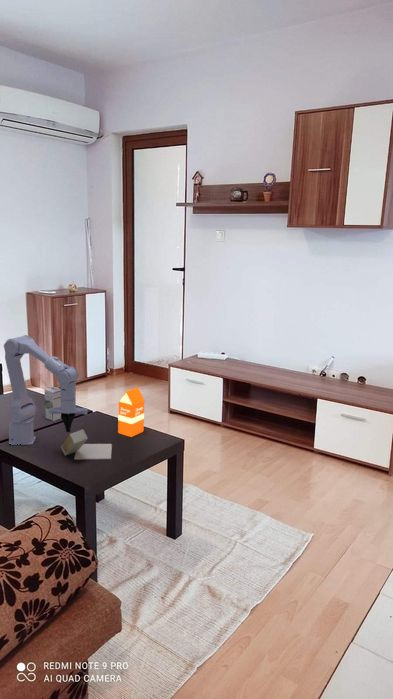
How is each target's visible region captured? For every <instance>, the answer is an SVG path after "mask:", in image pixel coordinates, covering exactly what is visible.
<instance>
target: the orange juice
mask: <svg viewBox="0 0 393 699" xmlns="http://www.w3.org/2000/svg"><path fill="white" fill-rule="evenodd" d="M117 420H118V424H117V428H118V429H117V433H118V434H121V435H124V436H126V437H131V438H132V437H134V436H136V435H139V434H140V433H143V432H144V428H145V427H144V426H145V425H144V422H145V399H144V397H143V395H142V393H141V390H140V389H139V387H134V388H131V389H128V390H126V391H125V392H124V394H123V395H122V397H121V398H120V400H119V401H118V416H117Z"/></svg>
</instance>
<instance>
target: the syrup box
mask: <svg viewBox="0 0 393 699" xmlns="http://www.w3.org/2000/svg"><path fill="white" fill-rule="evenodd" d="M59 407H61V388H59V387H55V386H51V387H47V388H45V389H44V418H45V419H46V420H49V421H51V422H55V421H58V420H60V419H61V414H49V408H59ZM61 420H62V419H61Z"/></svg>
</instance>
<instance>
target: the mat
mask: <svg viewBox="0 0 393 699" xmlns="http://www.w3.org/2000/svg"><path fill="white" fill-rule="evenodd" d="M112 447H113V444H112V443H84V444H83V445H82V446H81V448H80V449H79V450H78V451H76V452H74V453H75V455H74V457H73V459H74V460H112V451H113V450H112Z"/></svg>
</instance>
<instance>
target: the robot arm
mask: <svg viewBox="0 0 393 699" xmlns="http://www.w3.org/2000/svg"><path fill="white" fill-rule="evenodd" d="M3 348H4V353H5V354H4V361H5V364H6V369H7V373H8V378H9V384H10V387H11V391H12V395H13V401H12V403H11V404H10V414H9V415H10V419H11V420H10V421H9V424H8V445H9V444H11V445H10V446H21V445H22V446H24V445H25V446H26V445H27V446H31V445H34V442H35V441H36V438H37V437H36V435H34V420H35V416H36V415H37V414H38V409H37V406H36V404H35V402H34V400H33V398H31V397H29V394H28V390H27V386H26V381H25V377H24V372H23V368H22V363H21V359H22V358H23V356H24V355H25V354H29V355H31V356H32V357H34V358H36V359H37V360H38V361H40V362H41V363H43V364H44V368H45V369H46V370H47V371H49V372H50V373H51V374H52V375H54V376H55V377H56V379H57V382H58V383H59V387H60V388H59V389H61V407H59V408H49V414H61V420H62V422H63V424H64V428H65V432H66V433H70V432H71V429H72V423H73V422H74V419H75V417H76V415H88V407H87V408H85V407H78V406H77V404H76V401H77V400H76V396H77V394H76V392H77V391H76V388H77V387H76V386H77V385H76V384H77V380H78V379H79V377H80V376H79V375H80V374H79V371H78V370H77V368H76V367H74V366H70V365H67V364H66V363H64V362H63V361H61V360H60V358H59V357H58V356H54V355H53V356H50V355H49V354H48V353H47V352H45V351H44V350H43V349H42V348H41V347H40V346H39V345H37V343H36V342H35V339H33V338H32V337H31V336H30V335H27V334H26V335H25V334H24V335H22V336H17V337H13V338H8V339H7V340H6V341H5V342H4V344H3ZM17 444H18V445H17ZM20 444H21V445H20Z"/></svg>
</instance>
